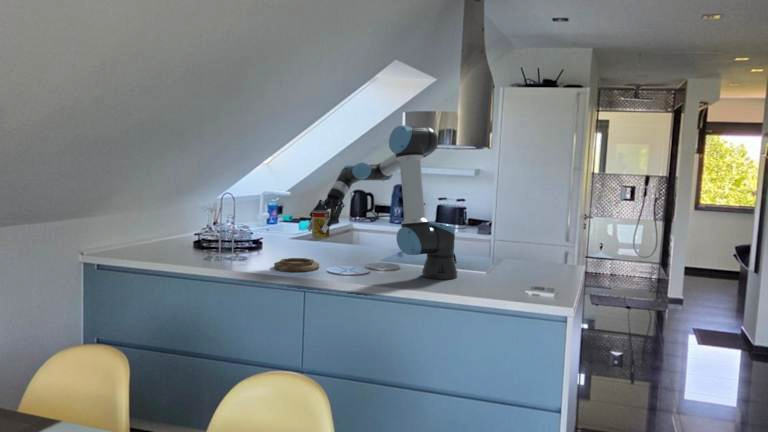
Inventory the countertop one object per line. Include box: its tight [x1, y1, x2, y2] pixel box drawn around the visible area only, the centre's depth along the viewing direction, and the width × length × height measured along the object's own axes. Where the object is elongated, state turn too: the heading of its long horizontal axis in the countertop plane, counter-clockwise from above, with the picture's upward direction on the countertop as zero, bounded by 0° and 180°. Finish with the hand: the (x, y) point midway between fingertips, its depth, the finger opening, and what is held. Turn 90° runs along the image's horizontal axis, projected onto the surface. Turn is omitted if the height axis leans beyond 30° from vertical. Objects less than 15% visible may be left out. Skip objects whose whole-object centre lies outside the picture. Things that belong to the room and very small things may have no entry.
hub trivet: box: [273, 257, 320, 273], centre depth 282 cm, size 20×20×3 cm
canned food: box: [311, 210, 330, 240], centre depth 287 cm, size 8×8×12 cm
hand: (315, 230), depth 284 cm, fingers closed on canned food, 8 cm apart
